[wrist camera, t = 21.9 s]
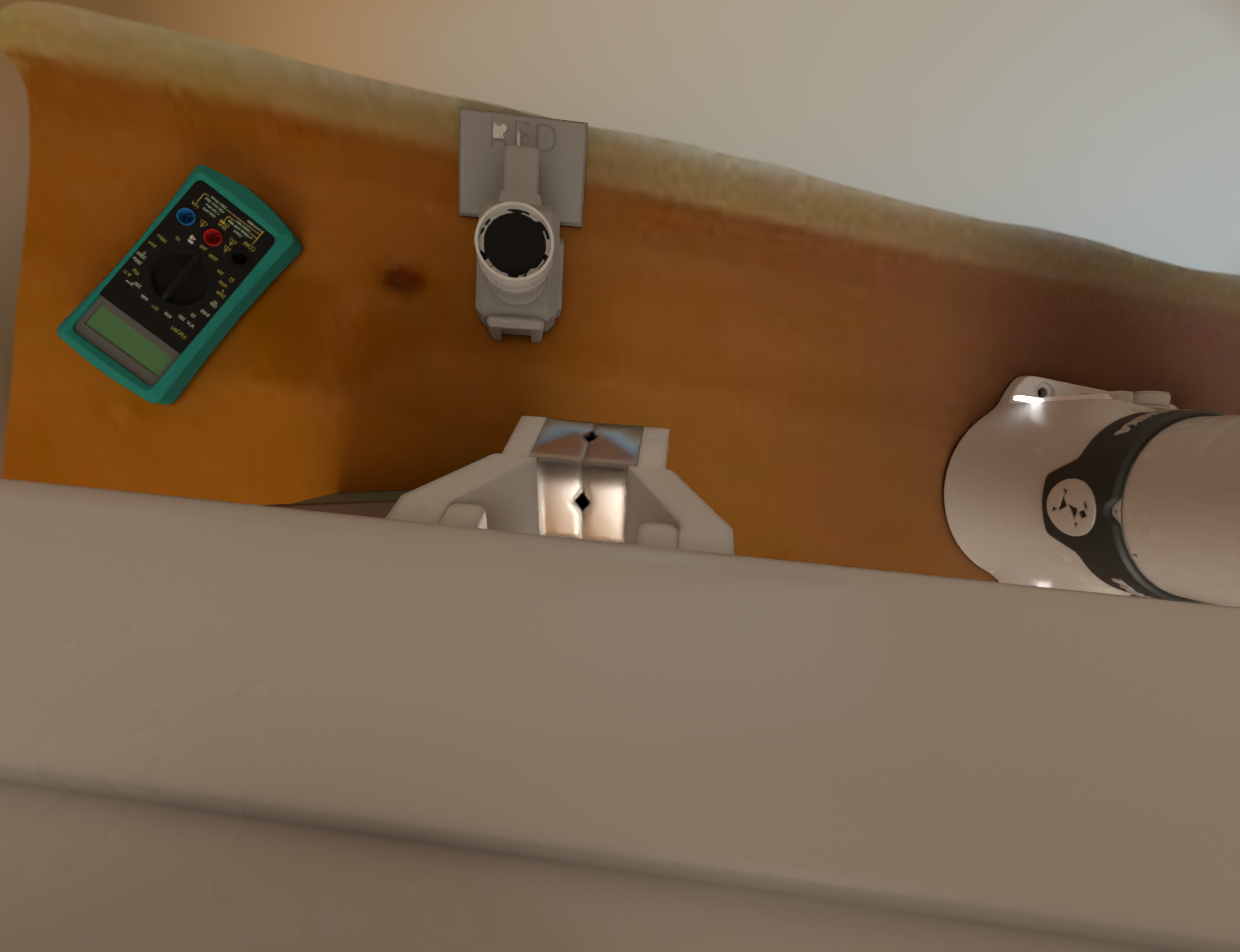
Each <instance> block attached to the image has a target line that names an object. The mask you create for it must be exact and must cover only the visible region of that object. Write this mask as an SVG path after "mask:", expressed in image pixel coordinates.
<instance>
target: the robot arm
mask: <svg viewBox="0 0 1240 952" xmlns="http://www.w3.org/2000/svg"><path fill="white" fill-rule="evenodd" d="M1038 390H1040V397H1039V396H1038ZM1170 399H1171V395H1170V393H1168V392H1162V391H1136V392H1130V391H1111V392H1110V391H1105V390H1100V389H1095V388H1090V387H1085V386H1080V385H1076V384H1071V383H1066V382H1061V381H1056V380H1051V379H1046V378H1041V377H1037V376H1020V377H1017V378H1016V379H1014V380H1013V381H1012V382H1011V384H1010V385H1009V386H1008V388H1007V389H1006V391H1005V393H1004V394H1003V396H1002V398H1001V399H1000V401H999V403H998V405H997V406H996V407H995V408H994V409H993V410H992V411H990V412H989V413H988V414H986V415H985V416H984V417H982V418H981V419H980V420H979V421H977V422H976V423H975V424H974V425H973V426H972V427H971V428H970V429H969V430H968V431H967V432H966V433H965V435H964V436H963V437H962V439H961V440H960V442H959V443H958V445H957V447H956V448H955V450H954V452H953V455H952V457H951V459H950V462H949V465H948V468H947V472H946V477H945V483H944V507H945V513H946V518H947V522H948V525H949V528H950V530H951V533H952V535H953V537H954V539H955V541H956V542H957V544H958V546H959V547H960V548H961V550H962V551H963V552H964V553H965V555H966V556H967V557H968V558H969V559H970V560H971V561H972V562H974V563H975V564H976V565H977V566H979V567H980V568H982V569H983V570H985V571H986V572H988V573H989V574H991V575H992V576H993V577H995V578H996V579H997V580H998V582H990V581H981V580H971V579H961V578H952V577H942V576H933V575H923V574H913V573H904V572H894V571H885V570H875V569H865V568H856V567H846V566H837V565H827V564H817V563H808V562H798V561H789V560H779V559H769V558H760V557H750V556H741V555H734V539H733V529H732V528H731V527H730V526H729V525H728V524H727V523H726V522H725V521H724V520H723V519H722V518H721V517H720V516H719V515H718V514H717V513H716V512H715V511H714V510H712V509H711V508H710V507H709V506H708V505H707V504H706V503H705V502H704V501H703V500H702V499H701V498H700V497H699V496H698V495H697V494H696V493H695V492H694V491H693V490H692V489H691V488H690V487H689V486H688V485H687V484H686V483H685V482H684V481H683V480H682V479H681V478H680V477H679V476H678V475H677V474H676V473H675V472H674V471H673V470H668V469H666V467H667V456H668V445H669V434H670V429H669V428H660V427H644V426H633V425H618V424H603V423H592V422H583V421H574V420H564V419H555V418H547V417H538V416H522V417H521V418H520V420H519V422H518V424H517V425H516V427H515V429H514V431H513V433H512V435H511V437H510V439H509V440H508V442H507V444H506V446H505V448H504V450H503V452H502V453H501V454H499V453H494V454H492V455H489V456H487V457H485V458H483V459H481V460H478V461H476V462H474V463H472V464H470V465H467V466H465V467H463V468H461V469H459V470H456V471H454V472H452V473H450V474H447V475H445V476H443V477H441V478H439V479H436V480H434V481H432V482H430V483H428V484H425V485H423V486H421V487H419V488H417V489H414V490H412V491H410V492H408V493H406V494H403V495H401V497H400V498H399V499H398V501H397V502H396V504H395V505H394V506H393V508H392V509H391V511H390V512H389V513H388V515H387V516H386V518H377V517H368V516H358V515H349V514H339V513H330V512H320V511H311V510H301V509H291V508H282V507H272V506H262V505H253V504H243V503H233V502H223V501H214V500H204V499H194V498H185V497H175V496H166V495H156V494H147V493H137V492H128V491H118V490H109V489H99V488H89V487H80V486H70V485H61V484H51V483H42V482H32V481H23V480H13V479H4V478H0V952H1240V415H1224V414H1221V413H1217V412H1213V411H1205V410H1194V409H1178V408H1177V407H1176V406H1174V405H1171V404H1170ZM1132 594H1135V595H1137V596H1140V597H1134V596H1129V595H1132ZM1143 597H1144V598H1143ZM1204 602H1205V603H1209V604H1200V603H1204ZM1210 604H1213V605H1210Z"/></svg>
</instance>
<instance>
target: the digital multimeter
mask: <svg viewBox="0 0 1240 952" xmlns="http://www.w3.org/2000/svg"><path fill="white" fill-rule="evenodd" d="M301 250H302V244H301V242H300V241H299V240H298V239H297V237H296V236H295V235H294V234H293V232H292V231H291V230H290V229H289V227H288V226H287V225H286V224H285V223H284V222H283V221H282V220H281V218H280V217H279V216H278V215H277V214H276V213H275V212H274V211H273V210H272V209H271V208H270V207H269V206H268V205H267V204H266V203H265V202H264V201H262V200H261V199H260V198H259V197H257V196H256V195H255V194H254V193H252V192H251V191H250V190H249V189H247V188H246V187H244V186H243V185H241V184H239V183H237V182H236V181H234V180H232V179H231V178H229V177H227V176H225V175H223V174H221V173H219V172H217V171H215V170H213V169H211V168H209V167H206V166H204V165H199V166H197V167H196V168H195V169H194V170H193V172H192V173H191V174H190V176H189V177H188V178H187V179H186V181H185V182H184V183H183V185H182V186H181V187H180V189H179V190H178V191H177V193H176V194H175V195H174V197H173V198H172V199H171V201H170V202H169V203H168V204H167V206H166V207H165V208H164V209H163V211H162V212H161V213H160V214H159V216H158V217H157V218H156V219H155V221H154V222H153V223H152V224H151V226H150V227H149V228H148V229H147V231H146V232H145V233H144V234H143V236H142V237H141V238H140V239H139V241H138V242H137V243H136V244H135V245H134V246H133V247H132V248H131V250H130V251H129V252H128V253H127V254H126V255H125V256H124V257H123V258H122V260H121V261H120V262H119V263H118V264H117V265H116V266H115V267H114V269H113V270H112V271H111V272H110V273H109V274H108V275H107V276H106V278H105V279H104V280H103V281H102V282H101V283H100V284H99V285H98V286H97V287H96V288H95V289H94V290H93V291H92V292H91V293H90V294H89V295H88V296H87V297H86V298H85V299H84V300H83V301H82V302H81V304H80V305H79V306H78V307H77V308H76V309H75V310H74V311H73V312H72V313H71V314H70V315H69V316H68V317H67V318H66V319H65V320H64V321H63V322H62V323H61V324H60V325H59V326H58V329H57V334H58V335H59V337H60V338H61V339H62V340H64V341H65V342H66V343H67V344H68V345H69V346H70V347H72V348H73V349H74V350H75V351H76V352H78V353H79V354H80V355H81V356H82V357H84V358H85V359H86V360H87V361H89V362H90V363H91V364H92V365H94V366H95V367H96V368H98V369H99V370H101V371H102V372H103V373H105V374H106V375H107V376H109V377H110V378H112V379H113V380H115V381H116V382H118V383H119V384H121V385H123V386H124V387H126V388H127V389H129V390H130V391H132V392H134V393H135V394H137V395H139V396H140V397H142V398H144V399H145V400H147V401H149V402H152V403H159V404H172V403H173V402H174V401H175V400H176V399H177V397H178V396H179V395H180V394H181V392H182V391H183V390H184V388H185V387H186V386H187V384H188V383H189V382H190V380H191V379H192V378H193V376H194V375H195V374H196V372H197V371H198V370H199V368H200V367H201V366H202V364H203V363H204V362H205V360H206V359H207V358H208V356H209V355H210V354H211V353H212V351H213V350H214V349H215V348H216V346H217V345H218V344H219V343H220V342H221V340H222V339H223V338H224V337H225V335H226V334H227V333H228V332H229V331H230V329H231V328H232V327H233V326H234V324H235V323H236V322H237V321H238V320H239V318H240V317H241V316H242V315H243V314H244V313H245V311H246V310H247V309H248V308H249V307H250V306H251V305H252V304H253V303H254V301H255V300H256V299H257V298H258V297H259V296H260V295H261V294H262V293H263V291H264V290H265V289H266V288H267V287H268V286H269V285H270V284H271V283H272V281H273V280H274V279H275V278H276V277H277V276H278V275H279V274H280V273H281V272H282V271H283V270H284V269H285V268H286V267H287V266H288V265H289V264H290V262H291V261H292V260H293V259H294V258H295V257H296V256H297V255H298V254H299V253H300V252H301Z"/></svg>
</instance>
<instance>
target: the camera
mask: <svg viewBox="0 0 1240 952" xmlns="http://www.w3.org/2000/svg"><path fill="white" fill-rule="evenodd" d="M587 131H588V123H584V122H574V121H567V120H558V119H550V118H541V117H533V116H524V115H516V114H507V113H498V112H490V111H481V110H473V109H464V108H459V210H458V215H459V216H469V217H479V218H478V224H477V227H476V231H475V247H476V252H477V273H476V300H475V308H476V311H477V313H478V316H479V319H480V320H481V322H482V323H483V324H484V325H485V326H486V327H487V328H489V331H490V335H491V337H492V338H493V339H494V340H502V336H501V334H515V335H529V336H531V342H537V343H539V342H540V341H541V340H542V338H543V332H547V331H548V330H549V329H550V328H551V327H552V326H553V325H554V323H555V318H557V317H559V316H560V313H561V309H562V286H563V261H564V241H563V239H560V238H559V233H560V225H566V226H576V227H582V219H583V201H584V183H585V166H586V148H587Z"/></svg>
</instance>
